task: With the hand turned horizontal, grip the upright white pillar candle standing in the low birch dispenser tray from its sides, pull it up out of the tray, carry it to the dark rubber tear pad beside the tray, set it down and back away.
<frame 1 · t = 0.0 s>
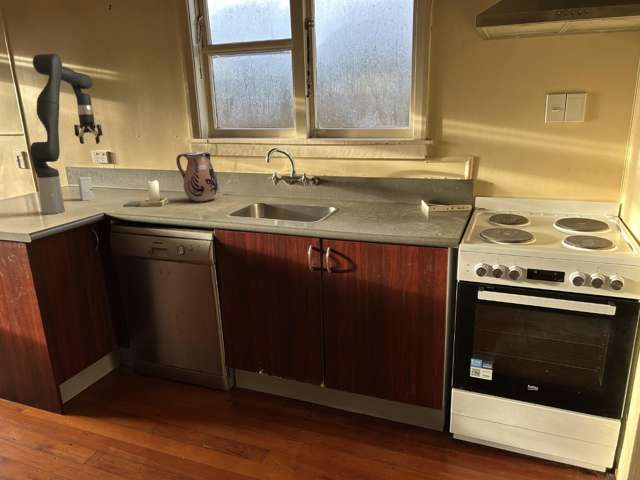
hand: (90, 143, 263), 29 cm above the counter, tool pointing down, fingers open, 8 cm apart
white pillar candle: (153, 192, 242), in the dispenser tray
skincare box: (87, 200, 260), on the counter
tear pad: (135, 204, 244), on the counter
dispenser tray: (155, 204, 243), on the counter
ceramic pitcher: (198, 200, 253), on the counter
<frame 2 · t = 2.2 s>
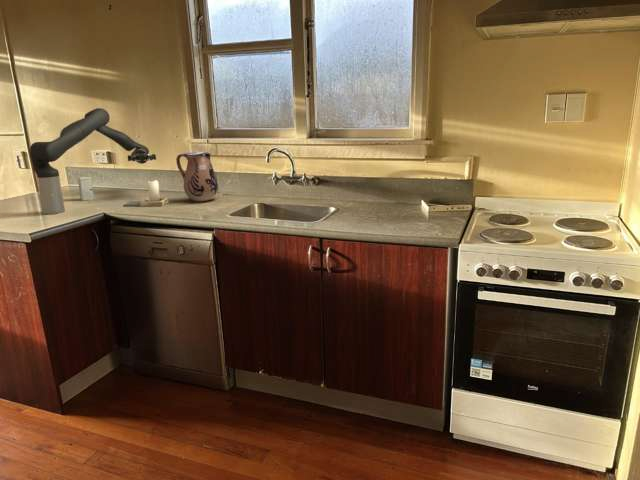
hand: (142, 158, 249), 22 cm above the counter, tool horizontal, fingers open, 8 cm apart
nothing on the counter moved.
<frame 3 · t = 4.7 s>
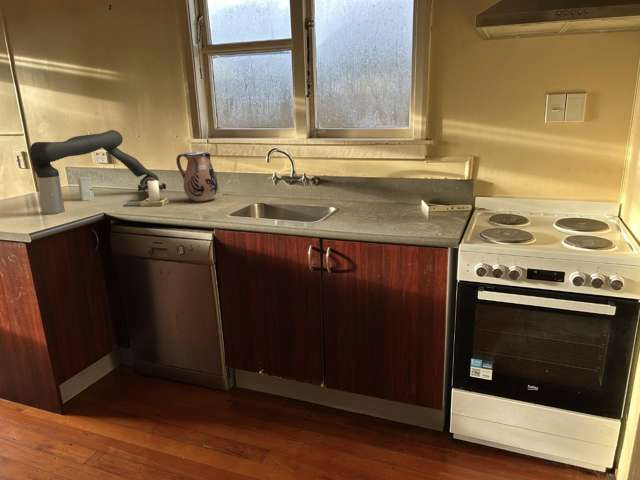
hand: (152, 188, 248), 7 cm above the counter, tool horizontal, fingers open, 8 cm apart
nothing on the counter moved.
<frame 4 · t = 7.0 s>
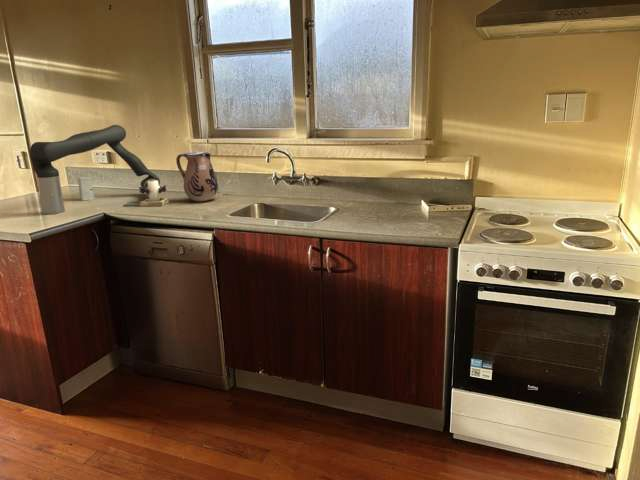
hand: (154, 191, 239), 7 cm above the counter, tool horizontal, fingers closed on white pillar candle, 5 cm apart
white pillar candle: (153, 192, 242), in the dispenser tray, touching gripper
everything else where it was.
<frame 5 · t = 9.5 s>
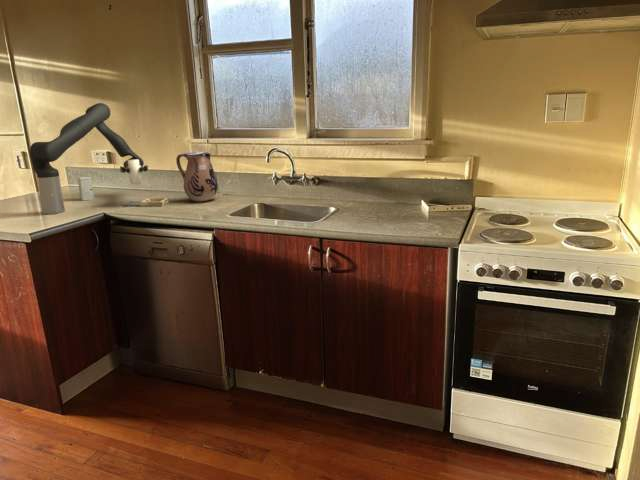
hand: (134, 170, 236), 18 cm above the counter, tool horizontal, fingers closed on white pillar candle, 5 cm apart
white pillar candle: (134, 171, 239), point 17 cm above the counter, touching gripper
everything else where it was.
when the fingers open (9 cm above the counter, at t = 11.9 s): white pillar candle stays where it is, resting on tear pad.
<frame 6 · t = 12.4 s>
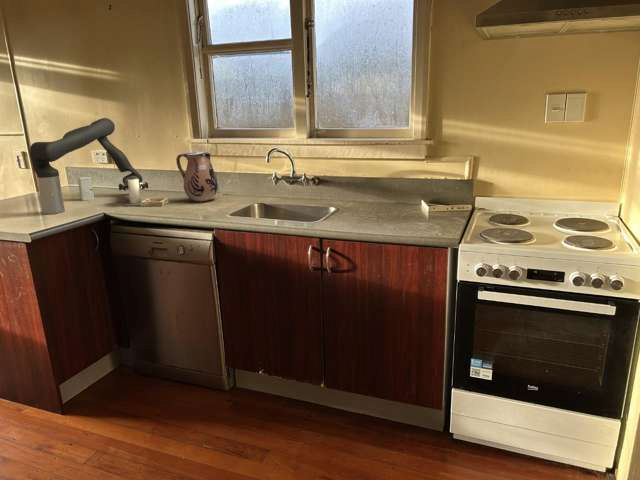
hand: (133, 188, 240), 9 cm above the counter, tool horizontal, fingers open, 8 cm apart
white pillar candle: (134, 191, 242), on the tear pad, point 7 cm above the counter
everything else where it was.
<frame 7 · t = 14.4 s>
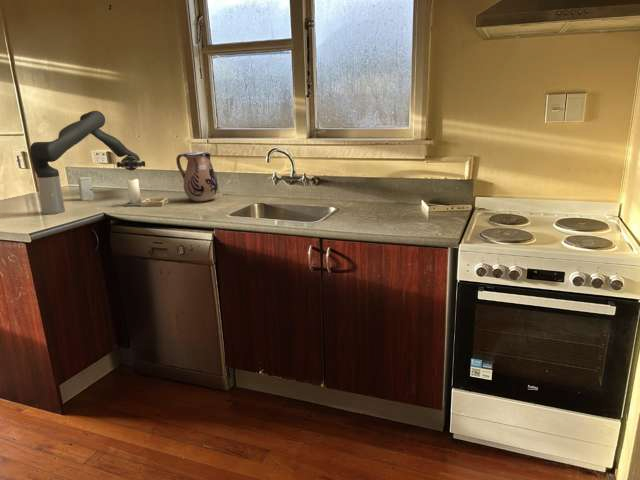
hand: (131, 165, 249), 19 cm above the counter, tool horizontal, fingers open, 8 cm apart
nothing on the counter moved.
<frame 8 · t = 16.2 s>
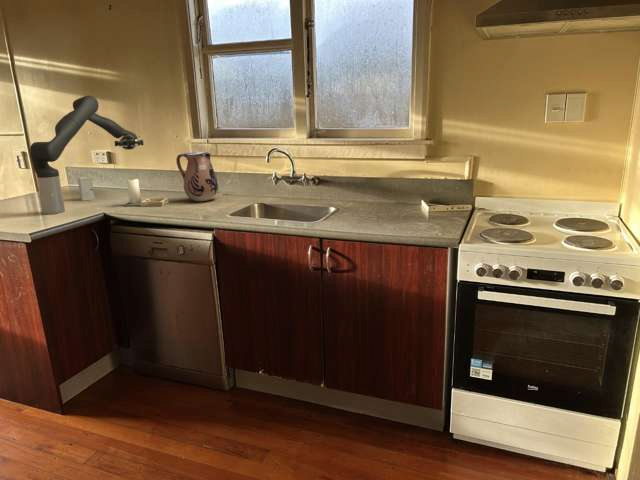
hand: (129, 143, 247), 30 cm above the counter, tool horizontal, fingers open, 8 cm apart
nothing on the counter moved.
at the end: white pillar candle inside the target area (0.1 cm from its centre), point 7.0 cm above the counter; white pillar candle tilted 0°; the gripper is holding nothing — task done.
